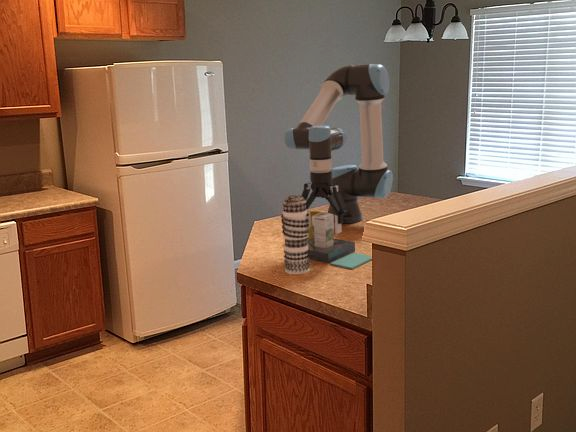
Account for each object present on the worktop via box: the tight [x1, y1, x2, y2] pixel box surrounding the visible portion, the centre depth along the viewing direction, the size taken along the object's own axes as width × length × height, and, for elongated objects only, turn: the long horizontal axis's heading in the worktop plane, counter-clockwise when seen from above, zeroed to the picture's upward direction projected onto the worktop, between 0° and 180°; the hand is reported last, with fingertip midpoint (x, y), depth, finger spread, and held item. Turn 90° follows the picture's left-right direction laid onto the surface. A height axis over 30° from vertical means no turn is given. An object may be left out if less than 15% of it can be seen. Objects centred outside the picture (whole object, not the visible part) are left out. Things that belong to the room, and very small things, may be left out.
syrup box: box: [312, 212, 335, 249], centre depth 225 cm, size 6×6×14 cm
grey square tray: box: [307, 237, 356, 264], centre depth 226 cm, size 16×16×4 cm
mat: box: [329, 252, 372, 270], centre depth 216 cm, size 14×9×1 cm, turn 140°
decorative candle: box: [280, 194, 311, 275], centre depth 208 cm, size 9×9×25 cm
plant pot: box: [306, 210, 325, 240], centre depth 246 cm, size 10×10×10 cm
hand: (322, 230), depth 225 cm, fingers open, 13 cm apart
